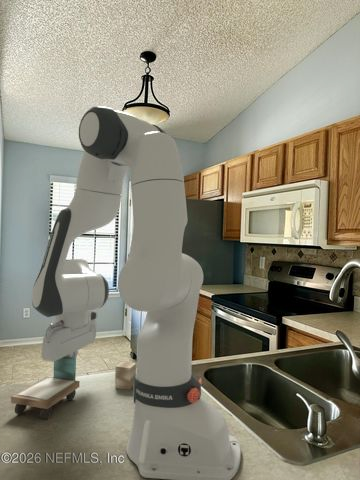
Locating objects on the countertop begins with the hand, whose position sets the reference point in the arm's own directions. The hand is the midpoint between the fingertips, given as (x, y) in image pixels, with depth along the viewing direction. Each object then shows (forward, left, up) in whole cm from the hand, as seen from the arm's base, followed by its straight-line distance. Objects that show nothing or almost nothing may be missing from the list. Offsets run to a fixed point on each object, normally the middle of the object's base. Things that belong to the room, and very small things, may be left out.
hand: (70, 367), depth 93 cm
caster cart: (0, +9, -7) cm, 11 cm away
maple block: (-13, -9, -7) cm, 17 cm away
